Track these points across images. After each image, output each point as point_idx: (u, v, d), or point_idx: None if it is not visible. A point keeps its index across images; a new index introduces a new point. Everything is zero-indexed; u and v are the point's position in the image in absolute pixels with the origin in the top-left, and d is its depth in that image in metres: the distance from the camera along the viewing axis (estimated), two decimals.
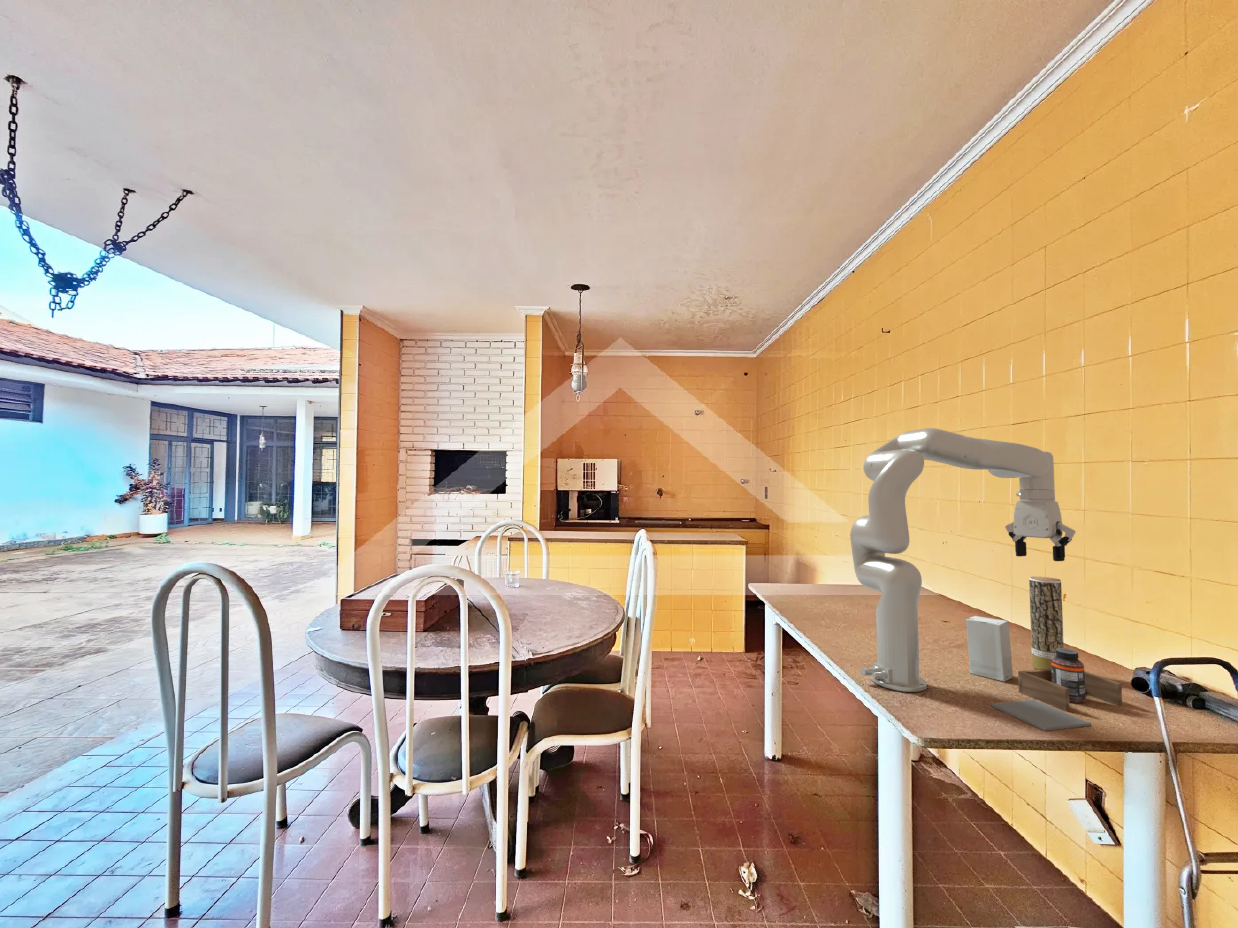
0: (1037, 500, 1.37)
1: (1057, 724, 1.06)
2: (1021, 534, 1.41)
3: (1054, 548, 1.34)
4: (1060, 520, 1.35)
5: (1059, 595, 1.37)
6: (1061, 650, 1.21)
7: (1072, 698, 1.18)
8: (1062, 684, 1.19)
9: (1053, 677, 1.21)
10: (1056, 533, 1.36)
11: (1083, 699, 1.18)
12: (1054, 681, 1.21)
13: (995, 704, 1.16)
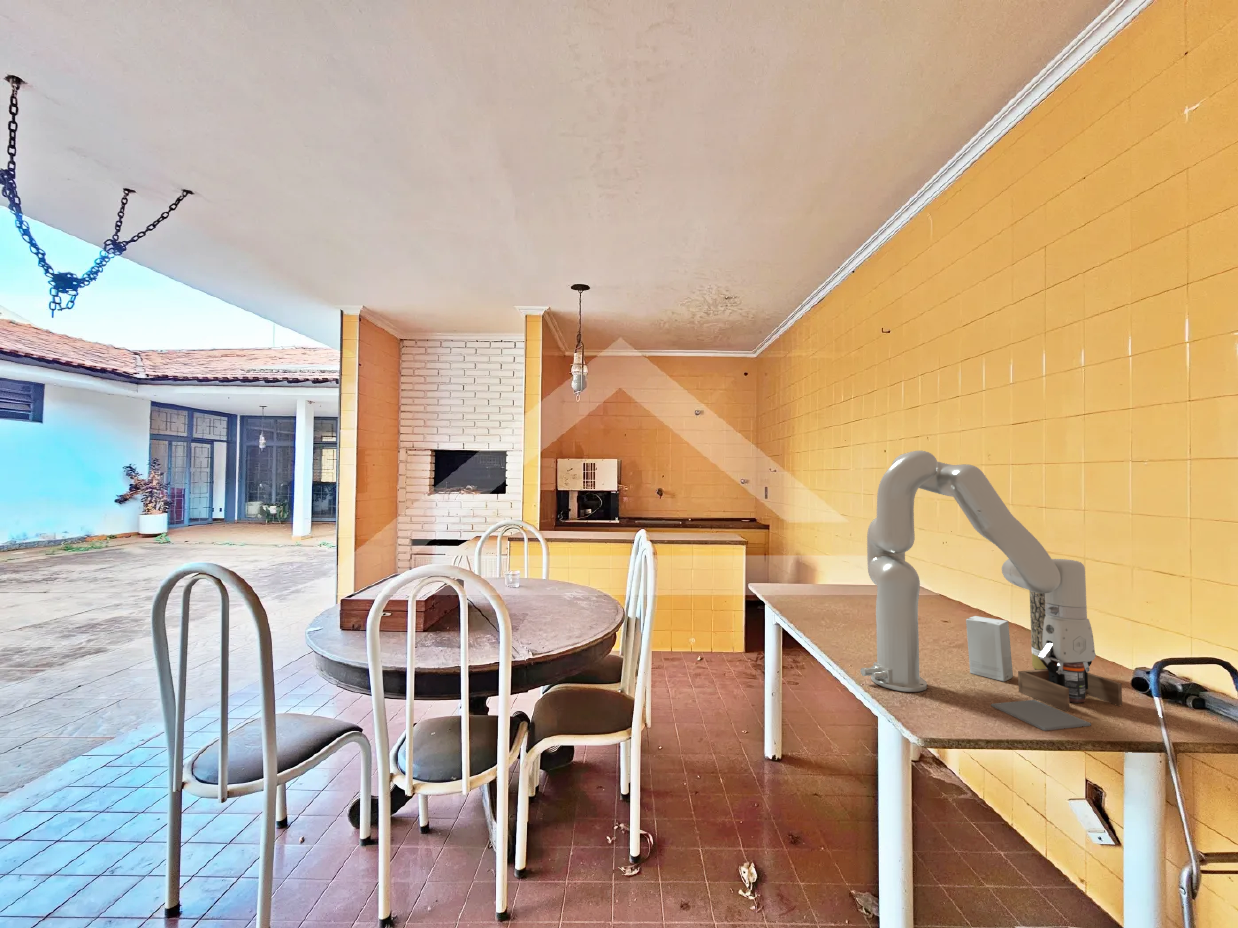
0: (1087, 619, 1.19)
1: (1057, 724, 1.06)
2: (1071, 661, 1.18)
3: (1086, 675, 1.20)
4: None
5: None
6: None
7: (1072, 698, 1.18)
8: None
9: None
10: None
11: (1083, 699, 1.18)
12: None
13: (995, 704, 1.16)
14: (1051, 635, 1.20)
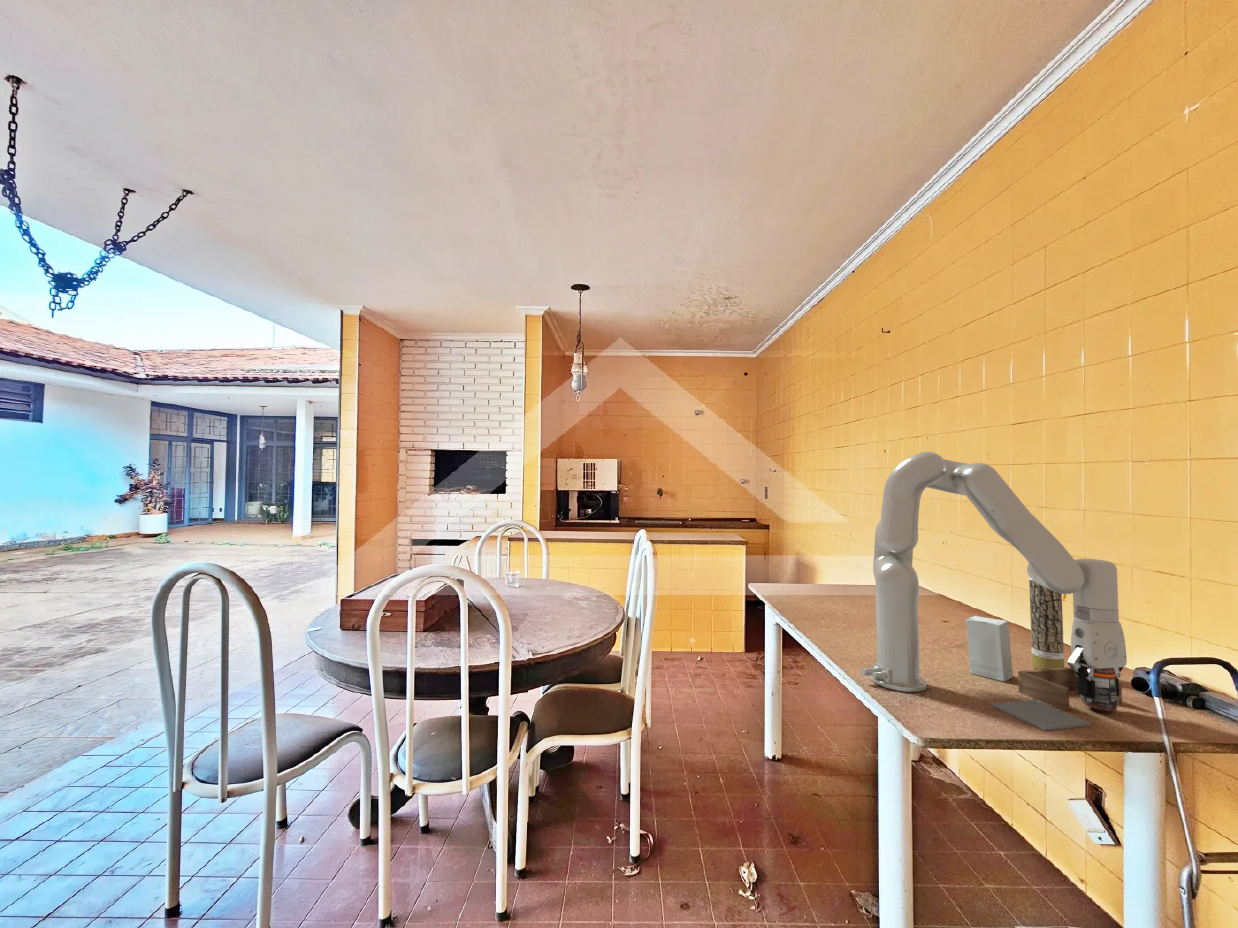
0: (1118, 622, 1.12)
1: (1057, 724, 1.06)
2: (1102, 667, 1.11)
3: (1117, 681, 1.13)
4: None
5: (1059, 595, 1.37)
6: None
7: (1103, 706, 1.12)
8: None
9: None
10: None
11: (1115, 707, 1.11)
12: None
13: (995, 704, 1.16)
14: (1081, 639, 1.13)
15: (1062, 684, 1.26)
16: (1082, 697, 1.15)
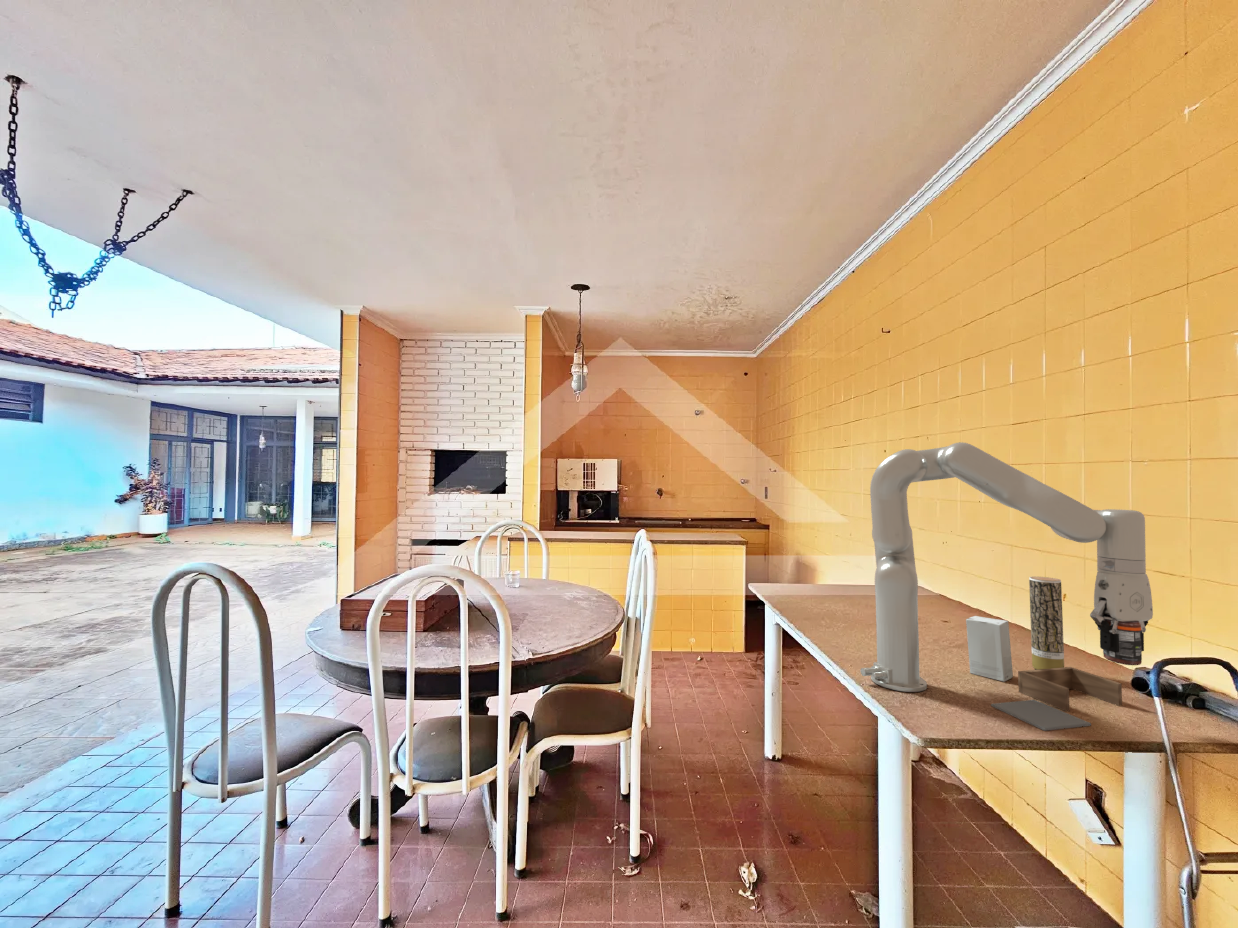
0: (1145, 573, 1.08)
1: (1057, 724, 1.06)
2: (1127, 619, 1.07)
3: (1142, 635, 1.09)
4: None
5: (1059, 595, 1.37)
6: None
7: (1127, 660, 1.07)
8: None
9: None
10: None
11: (1139, 661, 1.07)
12: None
13: (995, 704, 1.16)
14: (1105, 591, 1.09)
15: (1062, 684, 1.26)
16: (1104, 652, 1.10)
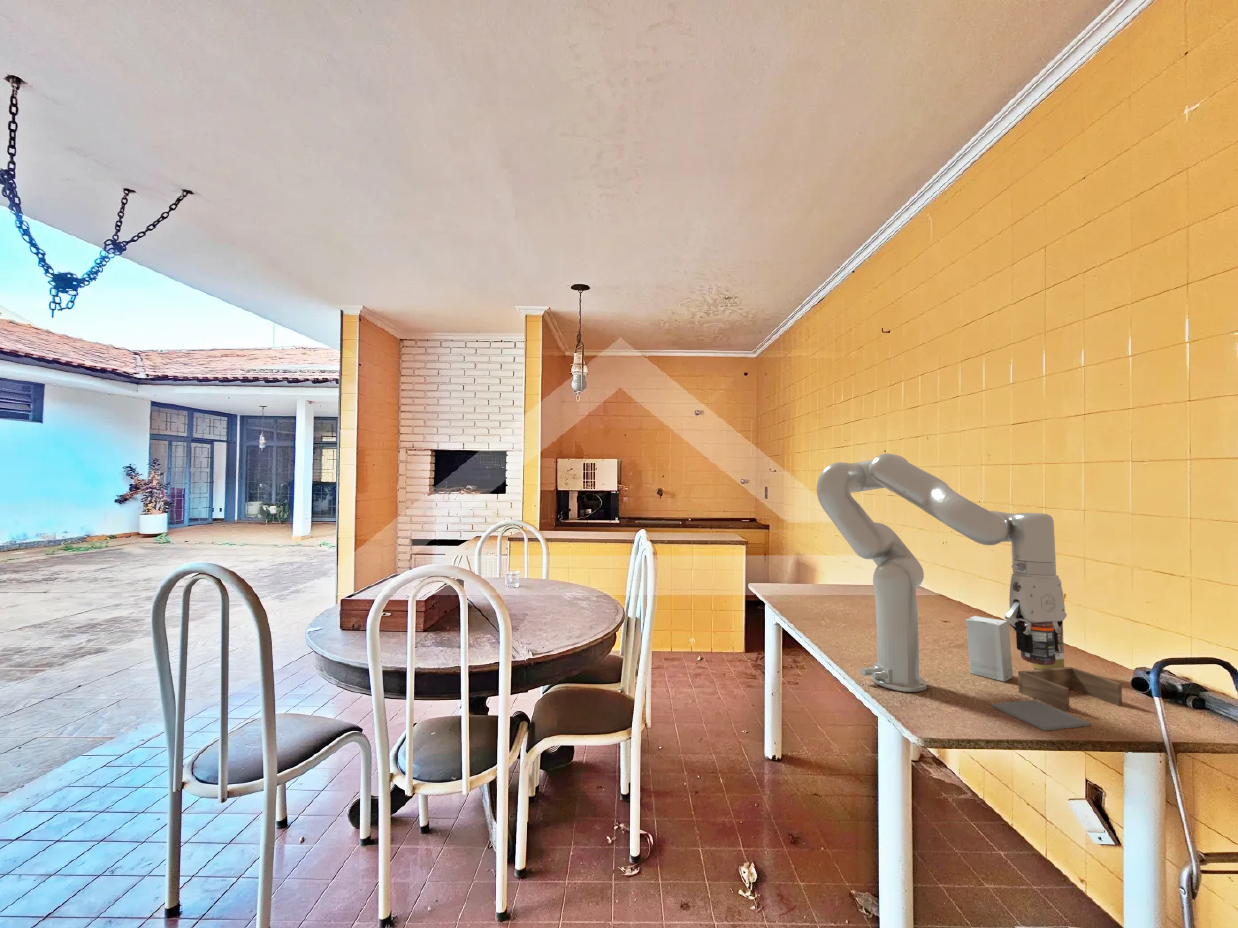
0: (1056, 575, 1.10)
1: (1057, 724, 1.06)
2: (1039, 620, 1.09)
3: (1056, 636, 1.11)
4: None
5: None
6: None
7: (1041, 660, 1.09)
8: None
9: None
10: None
11: (1052, 661, 1.09)
12: None
13: (995, 704, 1.16)
14: (1018, 593, 1.11)
15: (1062, 684, 1.26)
16: (1021, 653, 1.13)
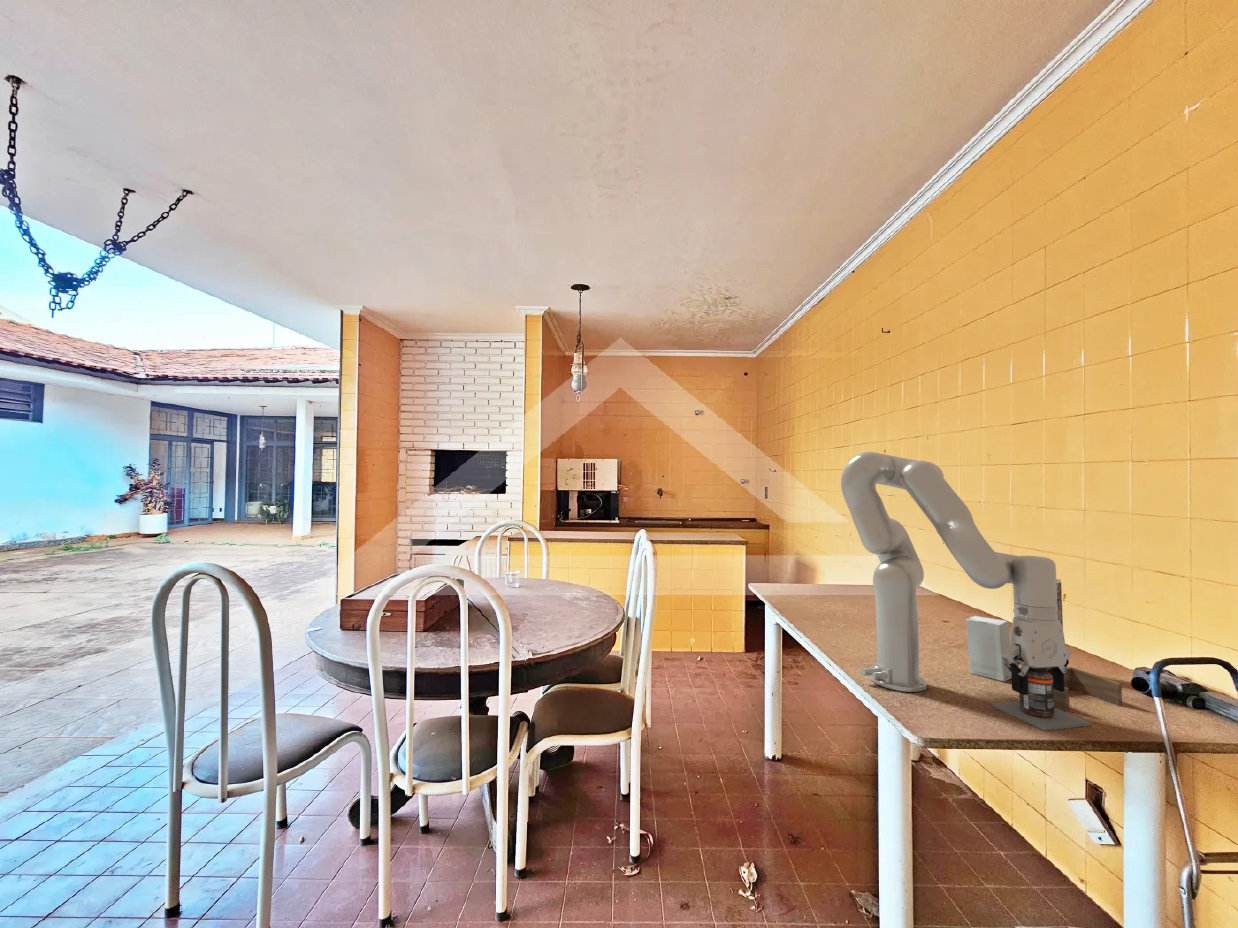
0: (1057, 620, 1.10)
1: (1057, 724, 1.06)
2: (1040, 666, 1.09)
3: (1063, 676, 1.11)
4: None
5: (1059, 595, 1.37)
6: None
7: (1040, 713, 1.09)
8: (1029, 697, 1.10)
9: None
10: None
11: (1051, 714, 1.09)
12: (1021, 694, 1.12)
13: (995, 704, 1.16)
14: (1019, 638, 1.11)
15: None
16: (1020, 703, 1.13)
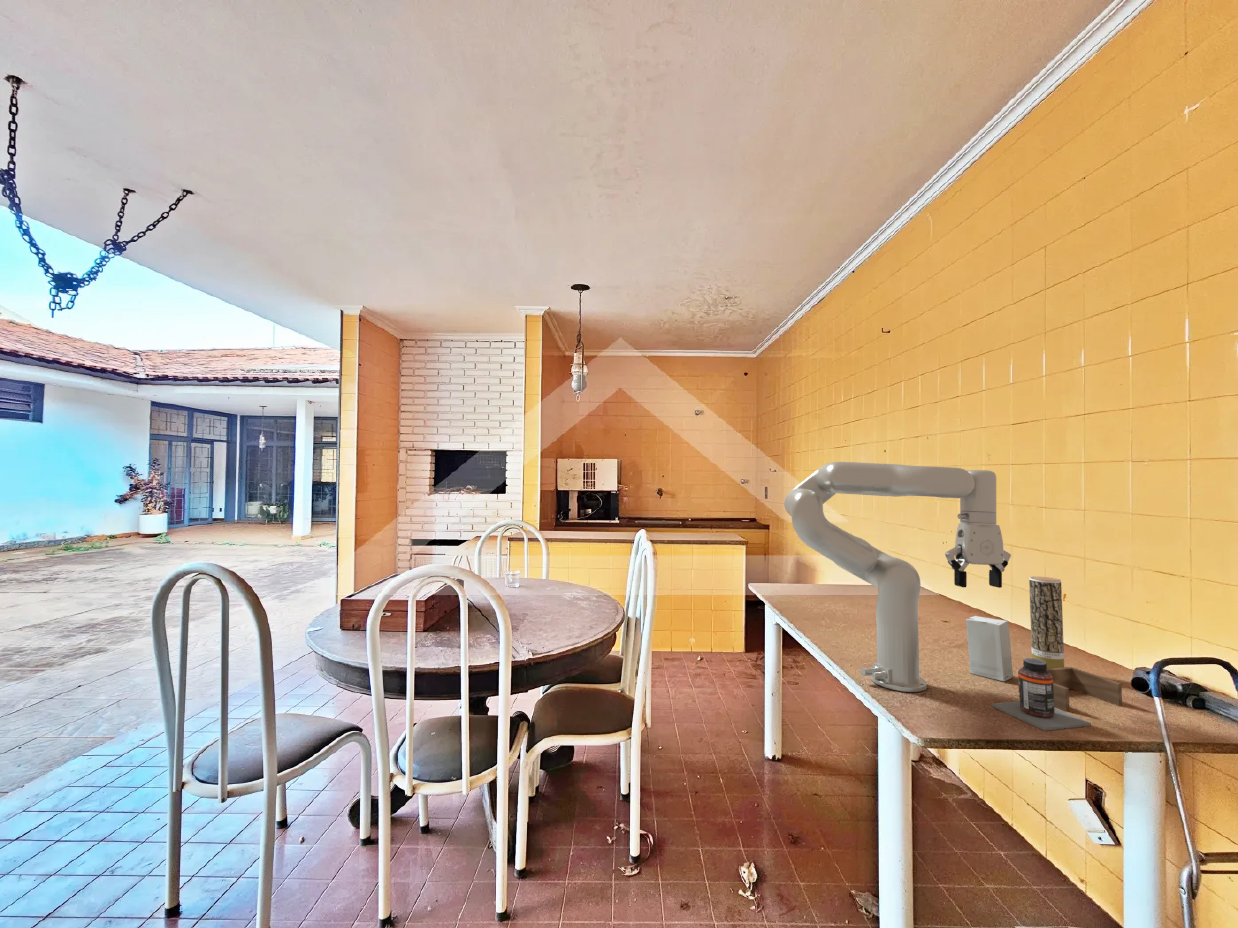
0: None
1: (1057, 724, 1.06)
2: (977, 562, 1.25)
3: (1001, 574, 1.27)
4: None
5: (1059, 595, 1.37)
6: (1029, 660, 1.12)
7: (1040, 713, 1.09)
8: (1029, 697, 1.10)
9: (1020, 689, 1.12)
10: None
11: (1051, 714, 1.09)
12: (1021, 694, 1.12)
13: (995, 704, 1.16)
14: (961, 539, 1.27)
15: (1062, 684, 1.26)
16: (1020, 703, 1.13)
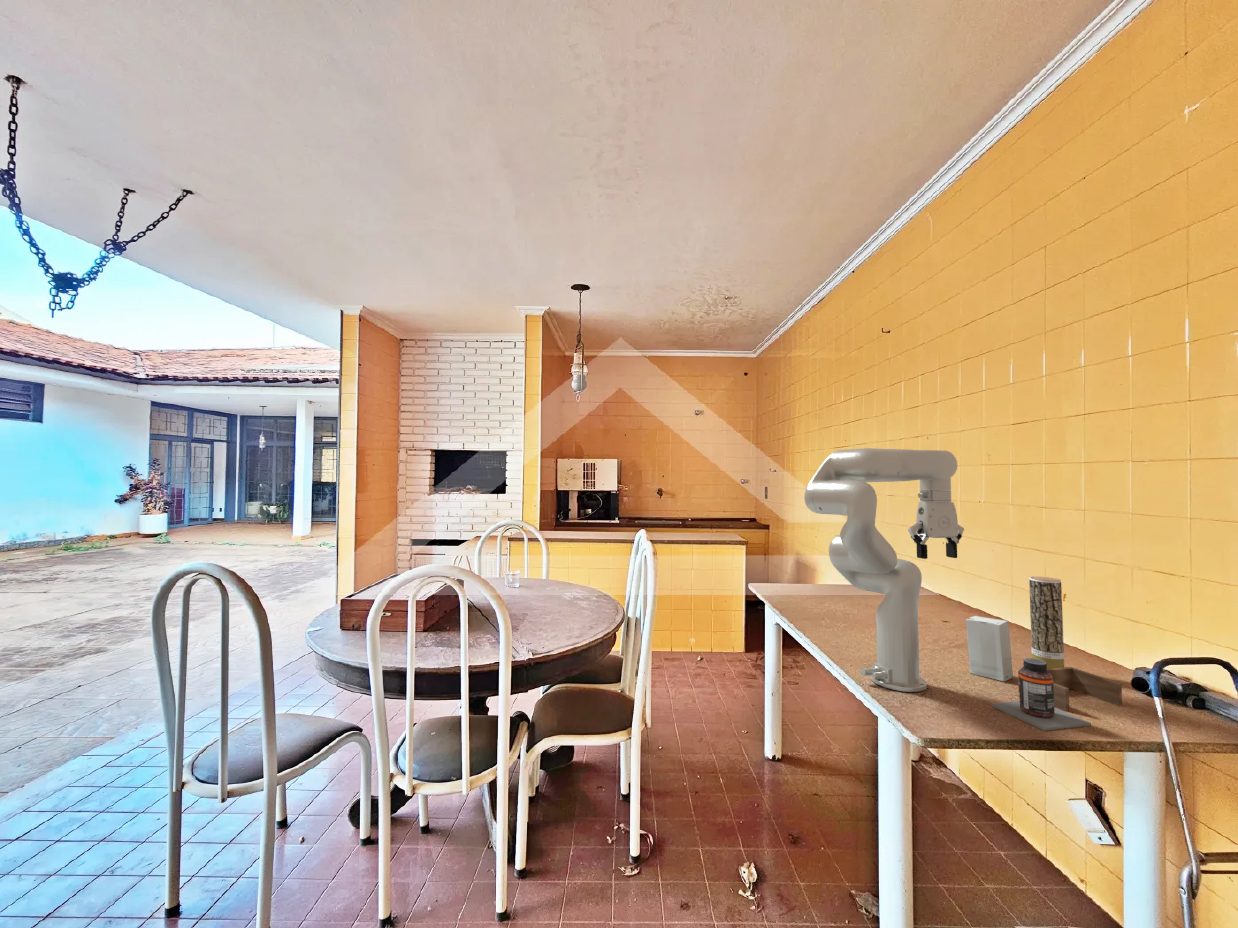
0: None
1: (1057, 724, 1.06)
2: (936, 536, 1.40)
3: (956, 546, 1.42)
4: None
5: (1059, 595, 1.37)
6: (1029, 660, 1.12)
7: (1040, 713, 1.09)
8: (1029, 697, 1.10)
9: (1020, 690, 1.12)
10: None
11: (1051, 714, 1.09)
12: (1021, 694, 1.12)
13: (995, 704, 1.16)
14: (922, 516, 1.42)
15: (1062, 684, 1.26)
16: (1020, 703, 1.13)
